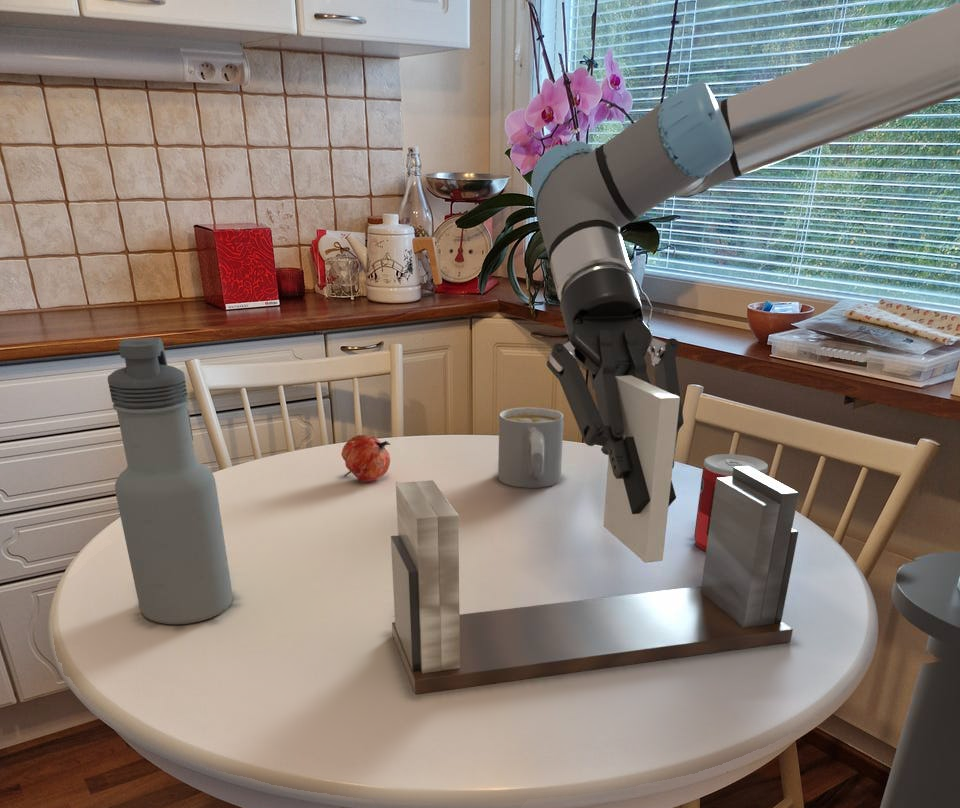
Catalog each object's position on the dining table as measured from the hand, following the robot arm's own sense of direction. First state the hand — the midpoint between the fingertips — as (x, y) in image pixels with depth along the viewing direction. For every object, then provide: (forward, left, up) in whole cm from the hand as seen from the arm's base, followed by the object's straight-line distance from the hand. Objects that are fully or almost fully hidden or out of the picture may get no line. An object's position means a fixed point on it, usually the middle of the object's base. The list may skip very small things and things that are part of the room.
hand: (653, 505), depth 77 cm
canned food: (-8, -32, -15) cm, 36 cm away
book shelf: (+5, -2, -15) cm, 16 cm away
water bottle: (+49, +2, -15) cm, 52 cm away
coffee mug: (+22, -52, -15) cm, 58 cm away
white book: (+2, -3, -5) cm, 6 cm away
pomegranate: (+47, -46, -15) cm, 67 cm away
